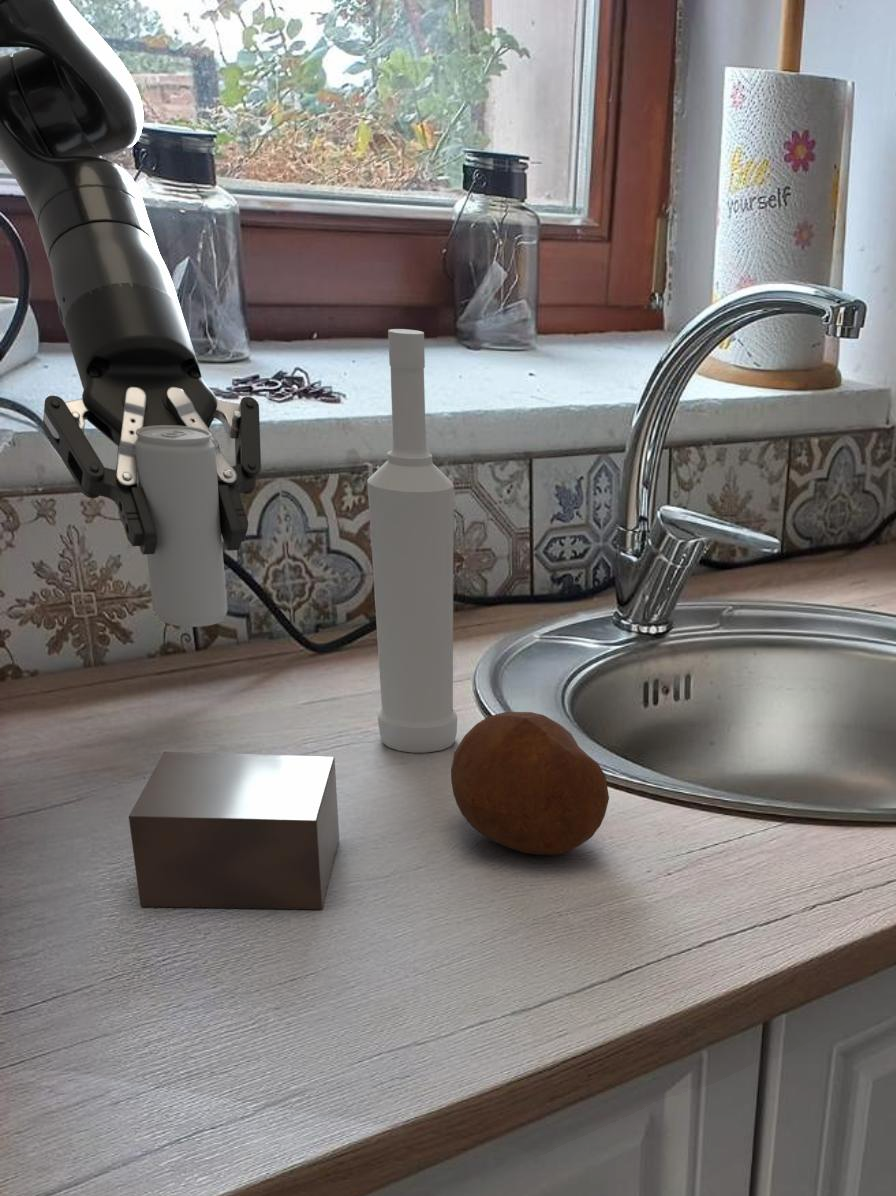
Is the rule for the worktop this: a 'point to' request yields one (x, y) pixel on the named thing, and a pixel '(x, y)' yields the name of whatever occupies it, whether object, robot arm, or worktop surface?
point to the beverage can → (183, 524)
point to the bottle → (413, 568)
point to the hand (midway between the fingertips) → (193, 544)
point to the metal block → (236, 831)
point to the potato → (528, 784)
